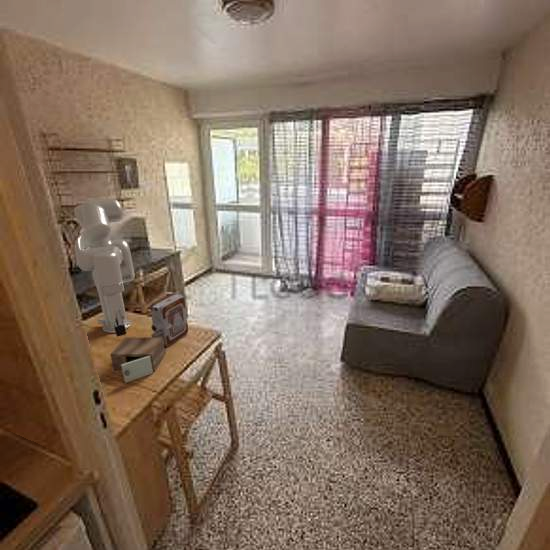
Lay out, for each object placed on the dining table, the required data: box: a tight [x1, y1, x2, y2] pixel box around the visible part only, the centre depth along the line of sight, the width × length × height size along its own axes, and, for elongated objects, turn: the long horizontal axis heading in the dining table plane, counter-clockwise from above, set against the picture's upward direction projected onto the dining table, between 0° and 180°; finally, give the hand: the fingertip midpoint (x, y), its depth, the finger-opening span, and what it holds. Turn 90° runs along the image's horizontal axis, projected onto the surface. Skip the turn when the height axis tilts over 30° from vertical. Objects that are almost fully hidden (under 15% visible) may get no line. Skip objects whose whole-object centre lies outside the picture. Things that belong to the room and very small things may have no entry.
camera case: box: [110, 336, 166, 373], centre depth 131 cm, size 16×12×8 cm
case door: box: [121, 356, 154, 383], centre depth 122 cm, size 10×2×8 cm, turn 123°
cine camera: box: [149, 293, 189, 347], centre depth 144 cm, size 9×19×20 cm, turn 152°
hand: (121, 334), depth 118 cm, fingers closed
